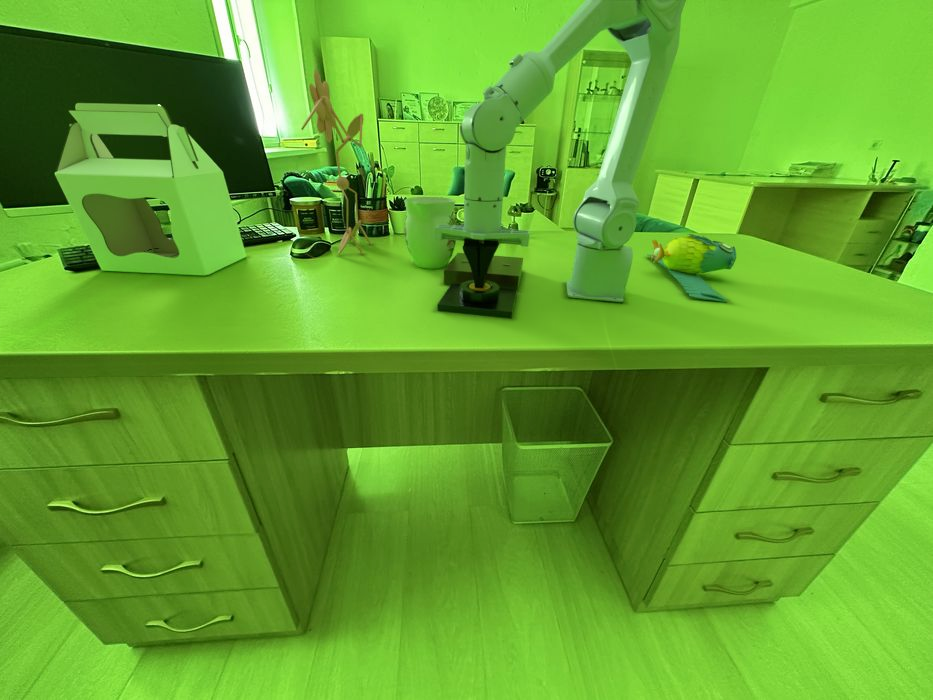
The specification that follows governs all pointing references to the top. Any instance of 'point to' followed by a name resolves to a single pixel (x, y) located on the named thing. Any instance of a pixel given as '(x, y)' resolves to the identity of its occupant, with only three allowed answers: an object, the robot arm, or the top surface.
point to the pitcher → (428, 230)
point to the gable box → (147, 195)
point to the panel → (499, 271)
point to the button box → (479, 300)
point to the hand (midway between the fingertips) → (479, 286)
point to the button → (485, 288)
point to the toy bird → (695, 262)
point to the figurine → (324, 124)
